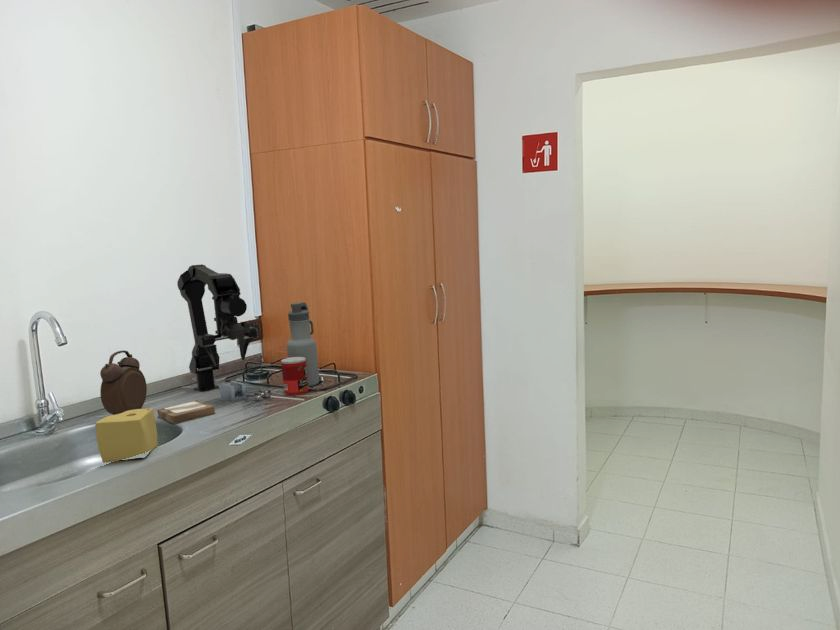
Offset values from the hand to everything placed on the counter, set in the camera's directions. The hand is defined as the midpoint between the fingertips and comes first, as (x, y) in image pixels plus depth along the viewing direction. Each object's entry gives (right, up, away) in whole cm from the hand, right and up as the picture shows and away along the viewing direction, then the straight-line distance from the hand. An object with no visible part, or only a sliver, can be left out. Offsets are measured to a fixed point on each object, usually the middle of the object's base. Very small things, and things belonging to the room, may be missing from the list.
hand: (229, 362), depth 197 cm
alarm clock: (-27, -16, -12) cm, 34 cm away
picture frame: (-8, -14, -15) cm, 22 cm away
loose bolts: (+10, -11, +1) cm, 15 cm away
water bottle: (+21, -9, +14) cm, 27 cm away
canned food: (+21, -10, +4) cm, 23 cm away
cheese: (-10, -19, -46) cm, 51 cm away
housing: (+1, -12, +2) cm, 12 cm away
